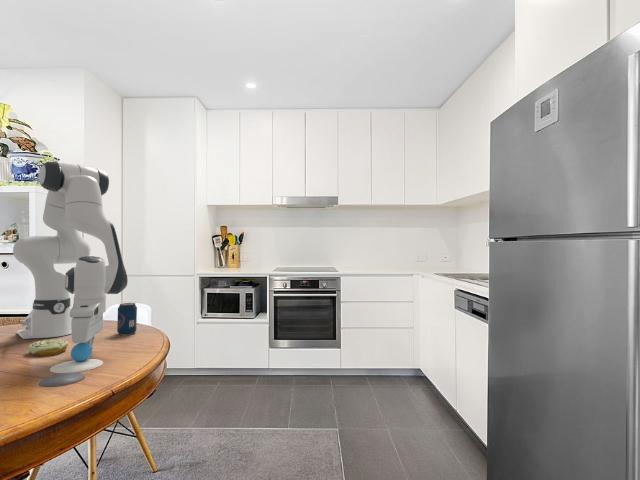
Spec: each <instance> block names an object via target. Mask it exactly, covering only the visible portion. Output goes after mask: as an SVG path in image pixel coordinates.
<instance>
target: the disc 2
mask: <svg viewBox="0 0 640 480" xmlns="http://www.w3.org/2000/svg"><path fill="white" fill-rule="evenodd" d="M103 364H104V361H103V360H101V359H96V358H95V359H94V358H88V359H87V360H85V361H81V362H78V361H75V360H74V359H73V360H69V361H63V362H61V363H58V364H54V365H53V366H50V368H49V371H50V372H51V373H53V374H54V373H55V374H64V373H83V372H87V371H91V370H93V369H97V368H99V367H101V366H102V365H103Z"/></svg>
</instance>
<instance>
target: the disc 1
mask: <svg viewBox="0 0 640 480" xmlns="http://www.w3.org/2000/svg"><path fill="white" fill-rule="evenodd" d="M85 378H86V375H85V374H84V373H83V372H76V373H57V374H53V375H50V376H47V377H44V378H42V379H40V380H39V381H38V385H39V386H40V387H45V388H47V387H48V388H51V387H53V388H54V387H55V388H56V387H61V386H68V385H72V384H75V383H78V382H81V381H82V380H84V379H85Z"/></svg>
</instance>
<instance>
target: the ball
mask: <svg viewBox="0 0 640 480" xmlns="http://www.w3.org/2000/svg"><path fill="white" fill-rule="evenodd" d="M92 354H93V349H92V347H91V346H90V345H89V344H87V343H76V344H75V345H74V346H73V347H72V349H71V351H70V356H71V358H72V359H73V360H75V361H78V362H81V361H85V360H87V359H90V358H91V356H92Z"/></svg>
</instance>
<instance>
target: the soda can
mask: <svg viewBox="0 0 640 480" xmlns="http://www.w3.org/2000/svg"><path fill="white" fill-rule="evenodd" d="M137 318H138V307H137V305H136V303H135V302H124V303H123V302H122V303H119V306H118V308H117V321H116V322H117V328H116V329H117V331H116V332H117V333H118V335H120V336H130V335H133V334H134V335H135V334H136V332H137V324H138V323H137V320H138V319H137Z"/></svg>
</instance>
